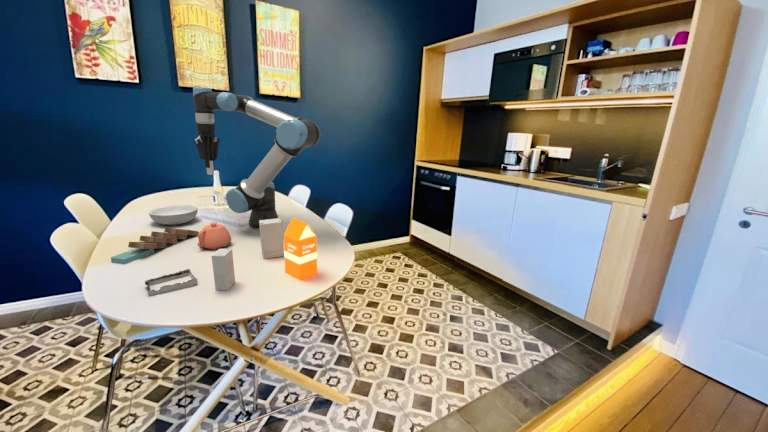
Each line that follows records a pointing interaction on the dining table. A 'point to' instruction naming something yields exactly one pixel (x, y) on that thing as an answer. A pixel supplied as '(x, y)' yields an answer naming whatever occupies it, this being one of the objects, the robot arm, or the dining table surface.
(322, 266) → the dining table surface
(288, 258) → the orange juice
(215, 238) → the sugar bowl
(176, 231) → the domino
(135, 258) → the domino
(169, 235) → the domino
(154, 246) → the domino
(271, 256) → the skincare box
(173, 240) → the domino
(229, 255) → the skincare box
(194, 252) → the dining table surface
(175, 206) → the serving bowl
